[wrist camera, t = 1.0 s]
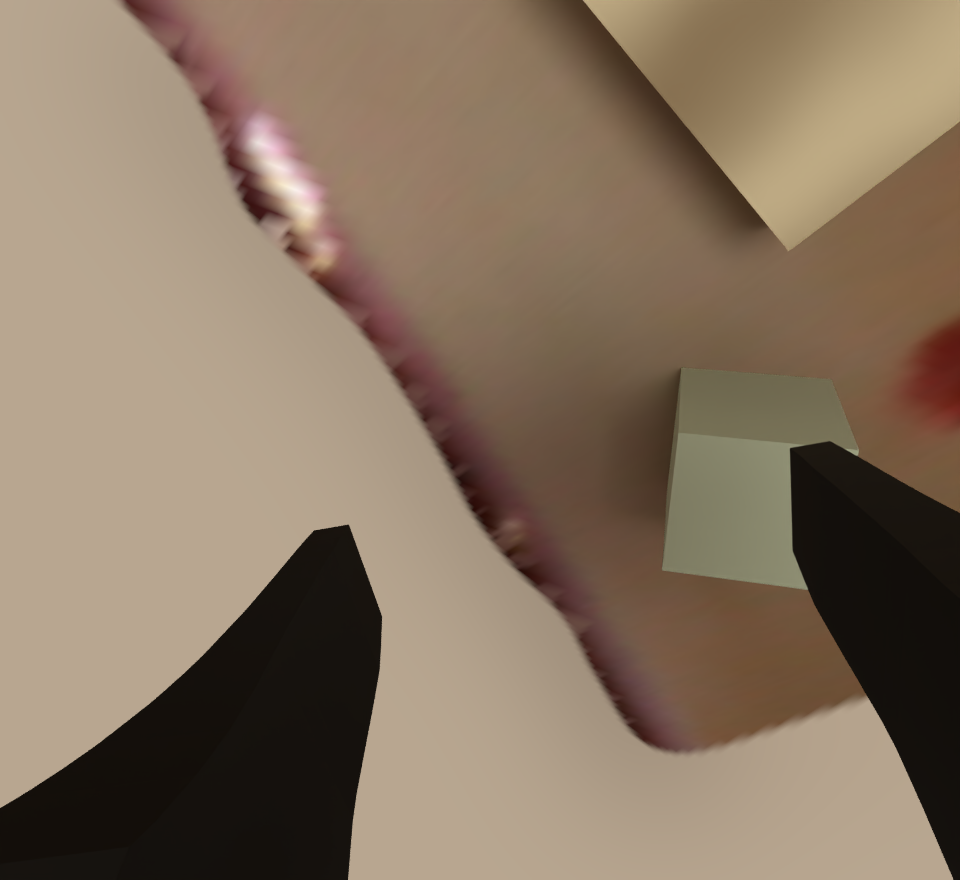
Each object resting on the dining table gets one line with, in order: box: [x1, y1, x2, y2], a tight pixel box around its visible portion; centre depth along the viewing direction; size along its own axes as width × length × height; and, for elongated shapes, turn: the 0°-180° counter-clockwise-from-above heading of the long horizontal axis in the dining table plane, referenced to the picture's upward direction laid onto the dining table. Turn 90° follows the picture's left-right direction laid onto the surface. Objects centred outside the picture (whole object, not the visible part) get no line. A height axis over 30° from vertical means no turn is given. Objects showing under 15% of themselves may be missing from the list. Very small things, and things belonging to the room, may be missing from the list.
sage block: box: [662, 367, 859, 590], centre depth 25 cm, size 5×5×5 cm
